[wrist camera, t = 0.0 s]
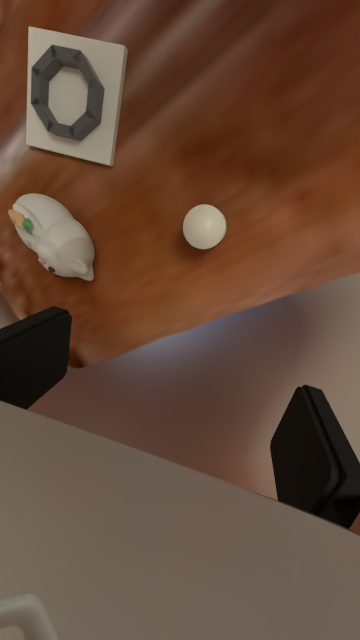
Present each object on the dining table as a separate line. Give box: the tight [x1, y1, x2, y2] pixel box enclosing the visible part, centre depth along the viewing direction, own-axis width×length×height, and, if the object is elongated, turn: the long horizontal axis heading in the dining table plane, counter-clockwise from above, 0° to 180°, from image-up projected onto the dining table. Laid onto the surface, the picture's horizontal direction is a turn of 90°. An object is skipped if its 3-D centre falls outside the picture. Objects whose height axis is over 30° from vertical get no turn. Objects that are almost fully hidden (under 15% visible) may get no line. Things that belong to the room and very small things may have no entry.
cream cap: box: [183, 204, 227, 249], centre depth 35 cm, size 5×5×7 cm
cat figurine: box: [8, 193, 95, 281], centre depth 39 cm, size 10×8×15 cm
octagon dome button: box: [26, 26, 128, 167], centre depth 35 cm, size 13×13×3 cm
